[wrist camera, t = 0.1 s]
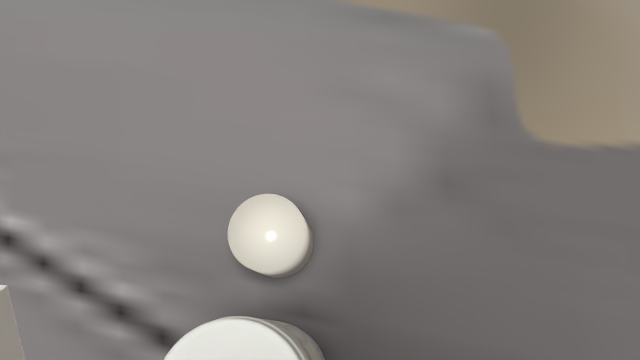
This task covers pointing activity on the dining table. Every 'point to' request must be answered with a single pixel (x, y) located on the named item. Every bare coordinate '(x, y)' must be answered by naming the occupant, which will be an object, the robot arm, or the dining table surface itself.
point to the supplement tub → (245, 341)
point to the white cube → (270, 236)
